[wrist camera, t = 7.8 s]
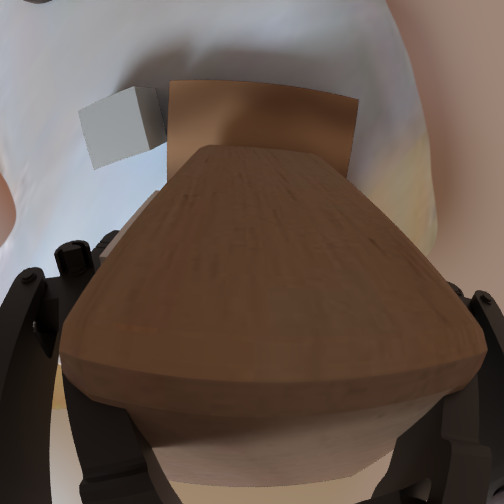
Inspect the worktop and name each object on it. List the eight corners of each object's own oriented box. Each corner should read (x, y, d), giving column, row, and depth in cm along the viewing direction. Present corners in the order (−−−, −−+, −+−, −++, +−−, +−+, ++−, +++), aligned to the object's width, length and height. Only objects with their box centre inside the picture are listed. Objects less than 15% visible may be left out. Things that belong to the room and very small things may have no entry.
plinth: (182, 84, 23) (169, 80, 19) (340, 99, 24) (358, 99, 20) (180, 226, 31) (170, 248, 27) (317, 236, 32) (328, 258, 28)
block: (322, 152, 21) (512, 347, 4) (303, 257, 26) (361, 476, 9) (198, 142, 20) (23, 347, 3) (197, 250, 25) (147, 479, 8)
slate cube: (106, 107, 24) (78, 111, 18) (155, 88, 23) (134, 85, 18) (119, 156, 27) (94, 169, 21) (168, 140, 26) (149, 150, 21)
